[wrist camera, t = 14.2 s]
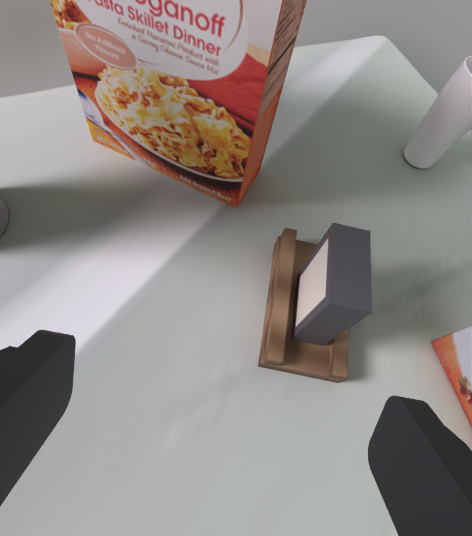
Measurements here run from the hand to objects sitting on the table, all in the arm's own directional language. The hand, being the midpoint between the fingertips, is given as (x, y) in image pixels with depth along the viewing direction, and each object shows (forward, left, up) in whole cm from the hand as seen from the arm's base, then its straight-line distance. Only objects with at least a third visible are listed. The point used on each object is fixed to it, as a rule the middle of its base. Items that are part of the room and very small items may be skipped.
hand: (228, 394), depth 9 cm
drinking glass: (-26, +46, -28) cm, 60 cm away
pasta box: (-35, +8, -28) cm, 46 cm away
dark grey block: (-7, +16, -26) cm, 31 cm away
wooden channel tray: (-8, +16, -28) cm, 33 cm away
